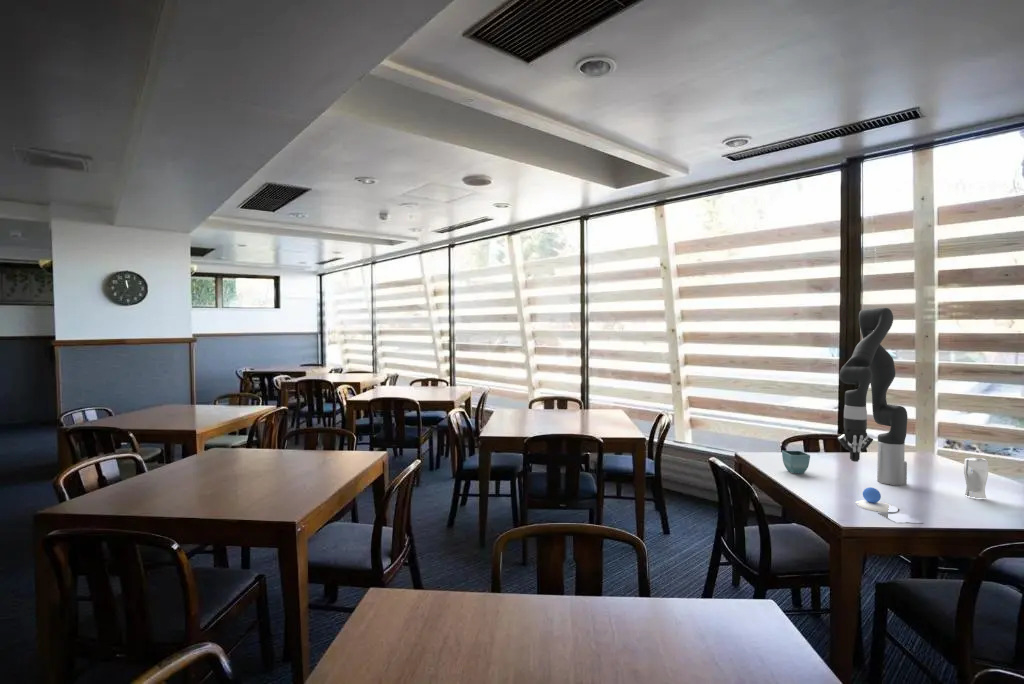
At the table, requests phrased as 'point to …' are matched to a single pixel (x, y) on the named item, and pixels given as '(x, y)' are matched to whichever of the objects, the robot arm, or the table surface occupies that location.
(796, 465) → the flower pot
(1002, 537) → the table surface
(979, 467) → the beer glass
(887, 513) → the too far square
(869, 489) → the ball
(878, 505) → the disc
